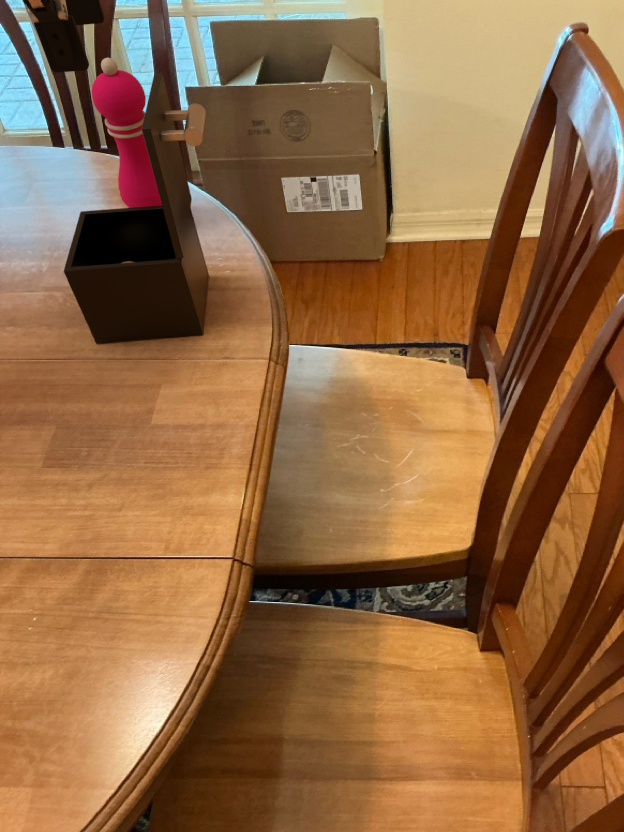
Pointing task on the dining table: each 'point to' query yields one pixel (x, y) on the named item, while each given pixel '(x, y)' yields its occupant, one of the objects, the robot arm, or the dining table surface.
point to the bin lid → (171, 156)
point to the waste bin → (136, 276)
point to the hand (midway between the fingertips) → (80, 45)
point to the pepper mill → (126, 132)
